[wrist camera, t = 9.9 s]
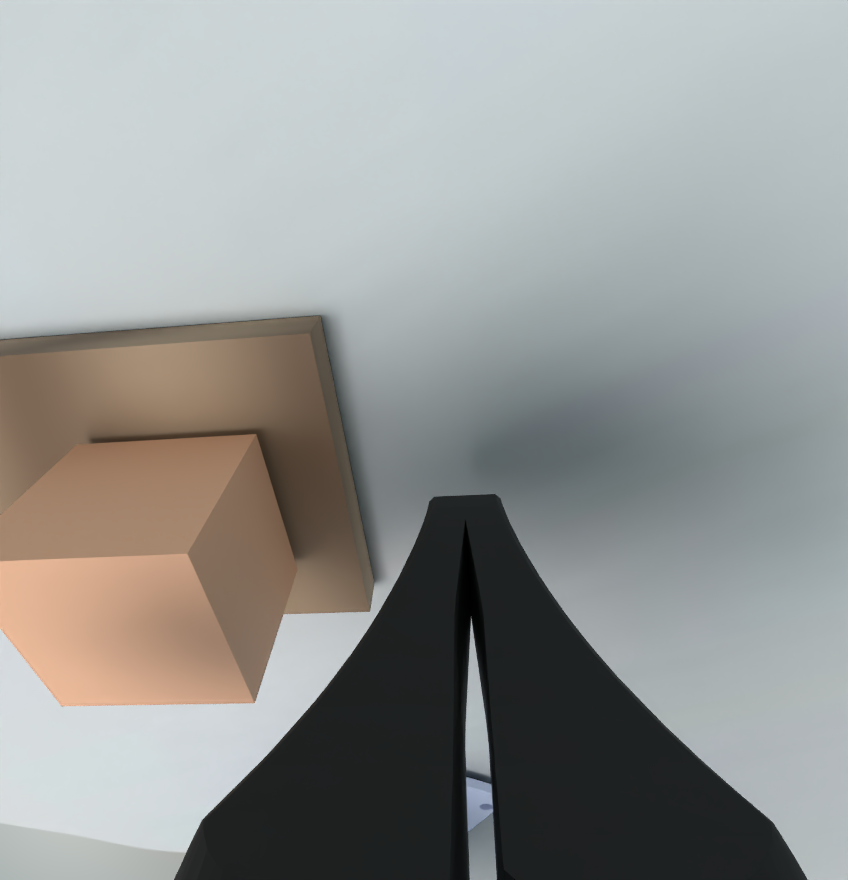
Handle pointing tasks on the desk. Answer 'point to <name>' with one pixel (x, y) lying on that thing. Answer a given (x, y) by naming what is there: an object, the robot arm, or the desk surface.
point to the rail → (202, 424)
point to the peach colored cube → (148, 572)
